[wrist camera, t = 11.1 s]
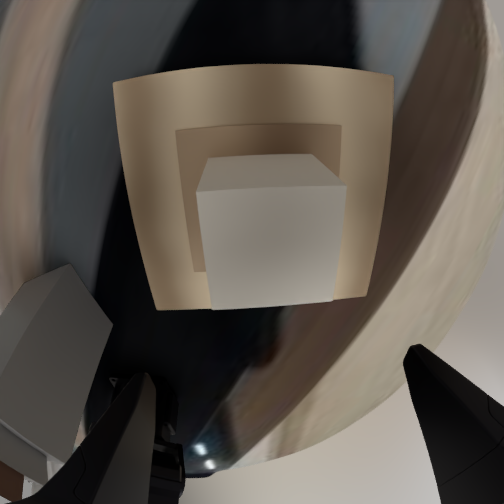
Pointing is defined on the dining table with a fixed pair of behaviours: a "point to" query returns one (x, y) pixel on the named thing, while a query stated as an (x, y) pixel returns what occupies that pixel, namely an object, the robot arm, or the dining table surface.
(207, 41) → the dining table surface
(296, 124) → the oak base
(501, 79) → the dining table surface
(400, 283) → the dining table surface
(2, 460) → the perfume bottle
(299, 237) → the cream cube
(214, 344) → the dining table surface
